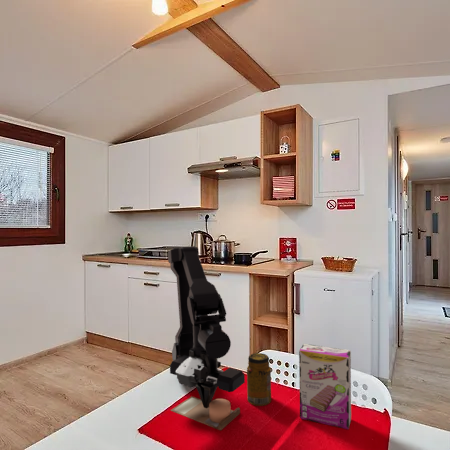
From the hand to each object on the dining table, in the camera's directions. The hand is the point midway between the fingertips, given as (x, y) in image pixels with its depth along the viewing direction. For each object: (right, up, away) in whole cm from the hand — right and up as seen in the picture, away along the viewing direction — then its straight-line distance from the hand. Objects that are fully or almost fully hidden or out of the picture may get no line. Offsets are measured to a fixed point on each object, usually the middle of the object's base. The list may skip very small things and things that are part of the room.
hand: (206, 407), depth 83 cm
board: (0, -2, 0) cm, 2 cm away
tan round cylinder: (+3, -1, -2) cm, 4 cm away
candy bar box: (+28, -2, -3) cm, 28 cm away
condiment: (+14, -2, +5) cm, 15 cm away
